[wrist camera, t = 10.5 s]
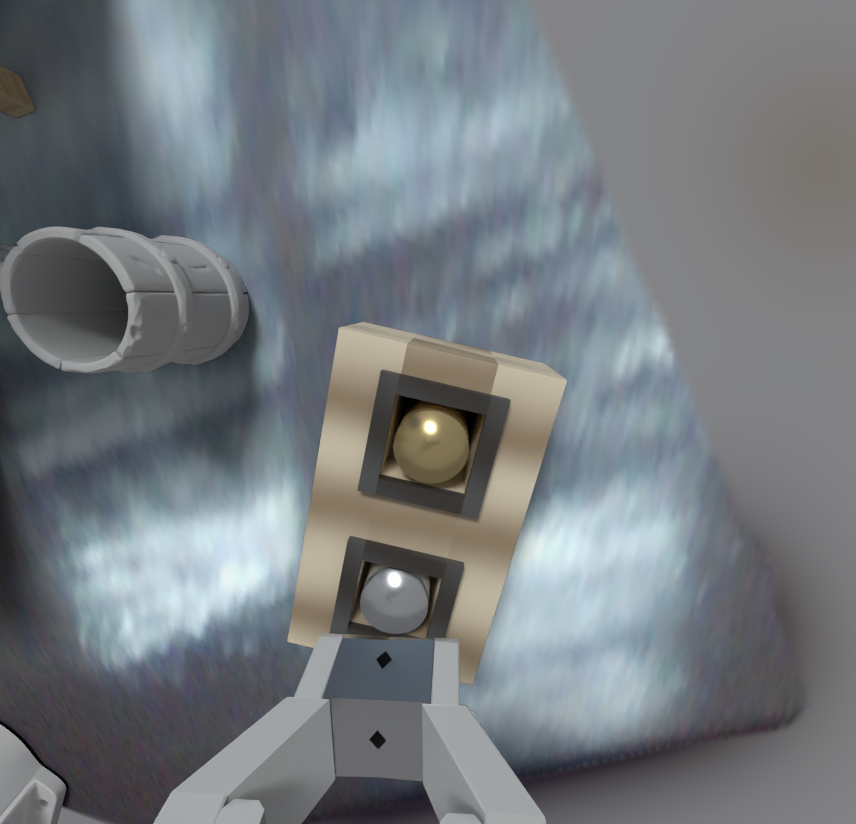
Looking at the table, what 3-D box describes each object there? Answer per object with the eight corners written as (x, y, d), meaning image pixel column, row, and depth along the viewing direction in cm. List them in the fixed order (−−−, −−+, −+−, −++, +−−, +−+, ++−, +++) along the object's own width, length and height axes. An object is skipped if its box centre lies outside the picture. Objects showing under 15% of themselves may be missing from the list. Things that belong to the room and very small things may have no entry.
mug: (243, 375, 30) (106, 423, 18) (75, 322, 29) (-173, 336, 18) (265, 261, 28) (127, 234, 16) (85, 204, 27) (-185, 134, 16)
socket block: (469, 617, 33) (472, 693, 27) (316, 582, 33) (283, 649, 27) (544, 363, 28) (570, 382, 22) (363, 322, 28) (336, 328, 22)
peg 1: (427, 574, 32) (419, 640, 26) (374, 562, 32) (354, 625, 26) (439, 527, 31) (434, 584, 25) (384, 514, 31) (366, 568, 25)
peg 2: (458, 450, 30) (459, 490, 23) (401, 437, 30) (386, 473, 23) (472, 394, 29) (477, 421, 22) (413, 381, 29) (401, 403, 22)
